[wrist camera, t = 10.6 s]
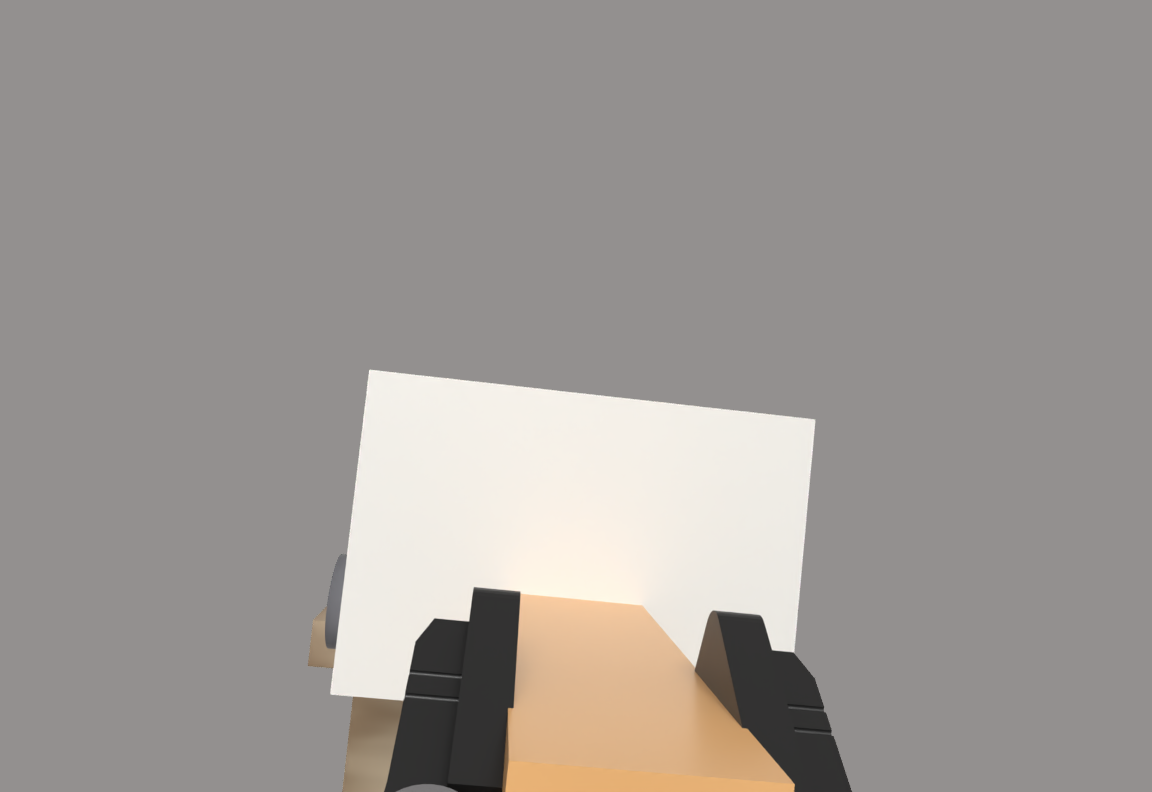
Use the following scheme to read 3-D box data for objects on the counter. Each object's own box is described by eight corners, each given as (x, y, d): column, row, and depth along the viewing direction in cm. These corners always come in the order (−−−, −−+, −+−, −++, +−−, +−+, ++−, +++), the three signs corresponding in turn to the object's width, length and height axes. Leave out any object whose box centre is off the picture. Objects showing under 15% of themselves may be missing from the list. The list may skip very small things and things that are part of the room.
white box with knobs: (754, 675, 26) (778, 427, 26) (1168, 1057, 10) (1210, 401, 10) (338, 637, 25) (368, 382, 26) (39, 986, 9) (136, 276, 9)
